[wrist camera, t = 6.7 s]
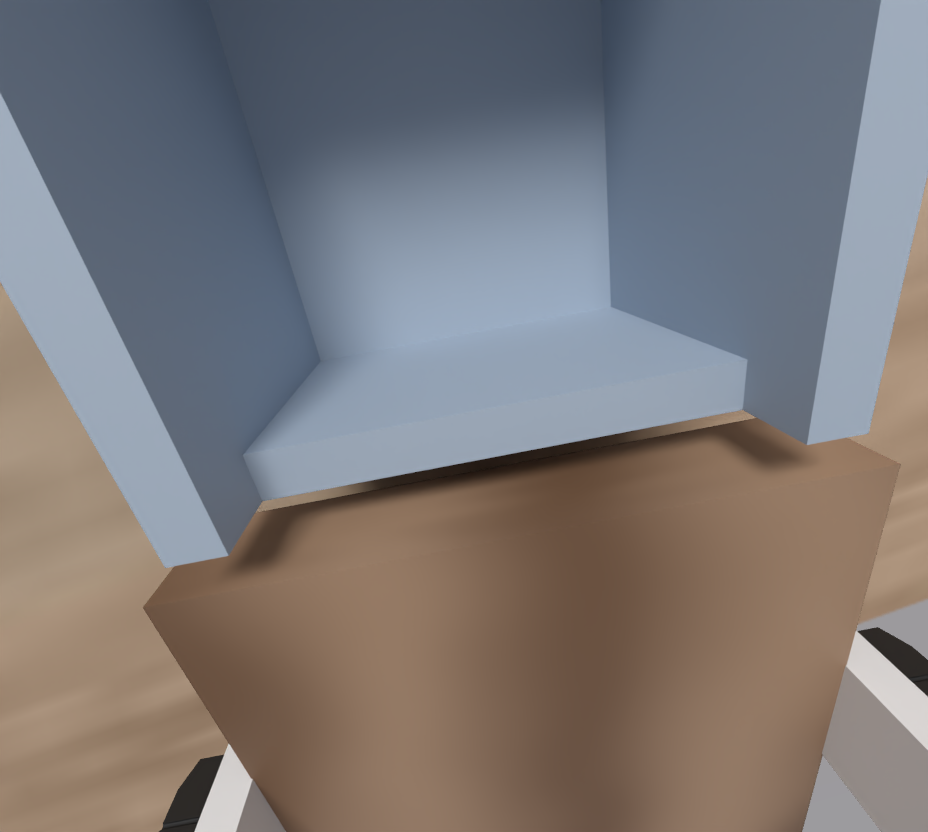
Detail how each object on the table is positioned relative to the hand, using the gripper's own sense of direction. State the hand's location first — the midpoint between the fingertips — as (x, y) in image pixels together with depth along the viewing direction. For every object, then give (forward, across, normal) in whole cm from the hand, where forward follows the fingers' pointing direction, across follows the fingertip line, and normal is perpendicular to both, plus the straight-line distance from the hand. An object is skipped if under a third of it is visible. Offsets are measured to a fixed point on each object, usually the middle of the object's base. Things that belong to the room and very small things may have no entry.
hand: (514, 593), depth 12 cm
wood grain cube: (-2, 0, 0) cm, 2 cm away
